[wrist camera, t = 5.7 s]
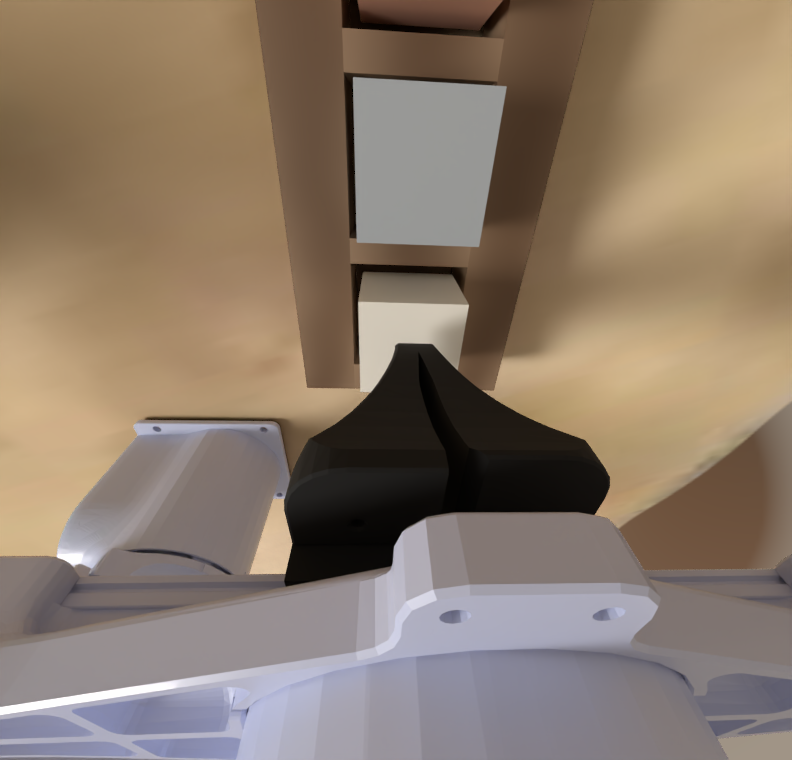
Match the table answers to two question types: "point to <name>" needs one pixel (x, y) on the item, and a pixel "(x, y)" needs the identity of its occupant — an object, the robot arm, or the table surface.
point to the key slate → (423, 160)
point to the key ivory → (407, 318)
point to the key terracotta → (429, 12)
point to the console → (334, 170)
